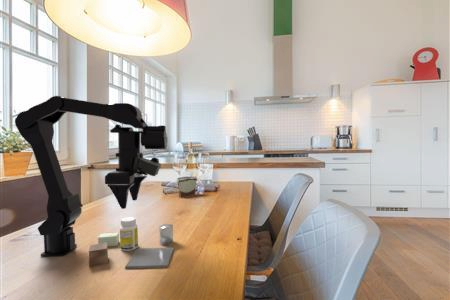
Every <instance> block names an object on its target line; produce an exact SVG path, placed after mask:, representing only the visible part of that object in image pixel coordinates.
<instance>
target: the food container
mask: <svg viewBox="0 0 450 300" xmlns="http://www.w3.org/2000/svg"><path fill="white" fill-rule="evenodd" d="M197 181H198V178H197V176H180V177H178V178H176V182H175V183H176V184H177V191H178V197H179V199H181V198H187V197H192V196H193V197H194V196H196V192H197V190H196V189H197Z"/></svg>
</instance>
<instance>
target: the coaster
mask: <svg viewBox="0 0 450 300" xmlns="http://www.w3.org/2000/svg"><path fill="white" fill-rule="evenodd" d="M174 250H175V247H174V246H173V247H150V248H149V247H147V248H146V247H144V248H141V247H140V248H138V247H137V248H136V249H135V252H134V253H133V255H132V256H131V257H130V258H129V260H128V262H127V263H126V264H125V266H124V268H125V269H128V270H129V269H131V270H132V269H155V268H158V269H161V268H165V269H166V268H168V266H169V264H170V261H171V258H172V256H173V253H174Z"/></svg>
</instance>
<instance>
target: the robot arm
mask: <svg viewBox="0 0 450 300" xmlns="http://www.w3.org/2000/svg"><path fill="white" fill-rule="evenodd" d="M66 113H73V114H79V115H86V116H93V117H99V118H105V119H106V120H110V121H113V122H116V123H119V124H115V126H114V127H113V128H112V129H110V130H109V131H110V133H113V134H118V135H117V136H118V139H117V141H118V147H117V148H118V151H117V152H118V153H117V152H116V153H115V158H118V163H117V164H118V166H117V167H115V170H113V171H110V172H108V173H107V174H106V175H105V176H104V184H105V185H107V187H109V189H110V190H111V193H112V194H113V195H114V197H115V199H116V202H117V203H118V204H119V205H118V206H120V208H121V209H122V210H123V209H124V210H125V209H126V208H127V205H128V204H127V203H128V198H129V197H128V196H129V193H130V197H131V200H132V201H137V200H138V197H139V196H138V195H139V192H140V189H141V187H142V186H141V185H142V182H143V181H144V180H145V179H147V177H148V175H149V176H152V177H156V175H157V176H158V173H159V171H160V169H161V167H162V164H161V163H160V159H159V158H158V157H155V156H154V157H151V159H149V158H146V157H145V158H144V153H143V152H141V146H142V147H144V148H145V150H167V147H168V136H167V135H168V134H167V127H166V125H148V124H147V123H146V122H145V120H144V118H143V113H142V112H141V110H140V108H139V107H138V106H135V105H134V104H130V103H128V102H127V103H126V102H124V103H123V102H119V103H118V102H115V103H99V102H93V101H86V100H80V99H75V98H68V97H63V96H59V95H53V96H51V97H50V98H48V99H47V100H45V101H43V102H40V103H38V104H36V105H33V106H32V107H30V108H29V109H27V110H24V111H21V112H20V113H18V114H17V116H16V117H15V119H14V124H15V127H16V128H17V131H18V132H19V134H20V136H21V137H22V138H23V139H24V140H25V141H26V142H27V143H28V145H30V147H31V149H32V152H33V155H34V159H35V161H36V163H37V166H38V171H39V173H40V176H41V179H42V181H43V184H44V187H45V191H46V194H47V201H46V207H45V208H46V215H47V218H46V219H45V220H44V221H43V222H42V223H41V224H40V225H38V227H37V230H38V233H39V235H40V236H43V247H44V249H43V250H44V251H43V252H42V253H40V257H51V256H52V257H56V256H59V257H60V256H62V257H63V256H66V255H68V253H70V252H71V251H72V250H74V249H75V248H76V247H77V246H78V244H77V243H76V234H75V232H74V227H73V226H74V225H75V223H76V221H77V219H78V218H79V217H80V216H81V214H82V211H83V210H82V208H83V206H84V205H83V204H82V202H81V198H80V194H79V193H76V194H73V193H72V192H70V191H71V190H69V189H68V185H67V183H66V179H65V176H64V174H63V171H62V167H61V165H60V162H59V159H58V156H57V153H56V149H55V147H54V144H53V140H54V134H55V129H54V125H55V124H56V123H58V122H59V121H60V120H61V119H62V117H63V116H64V115H65V114H66ZM120 124H121V125H126V126H127V127H126V126H121V125H120ZM129 126H130V127H129ZM133 128H134V129H140V130H139V131H137V130H134V129H133Z"/></svg>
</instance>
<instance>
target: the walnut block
mask: <svg viewBox="0 0 450 300" xmlns="http://www.w3.org/2000/svg"><path fill="white" fill-rule="evenodd" d="M108 247H109V246H108V244H107V243H102V244H98V243H96V244H90V246H89V249H88V267H89V268H91V267H97V266H102V265H103V266H105V265H108V262H109V261H108V260H109V252H108V251H109V250H108V249H109V248H108Z"/></svg>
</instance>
